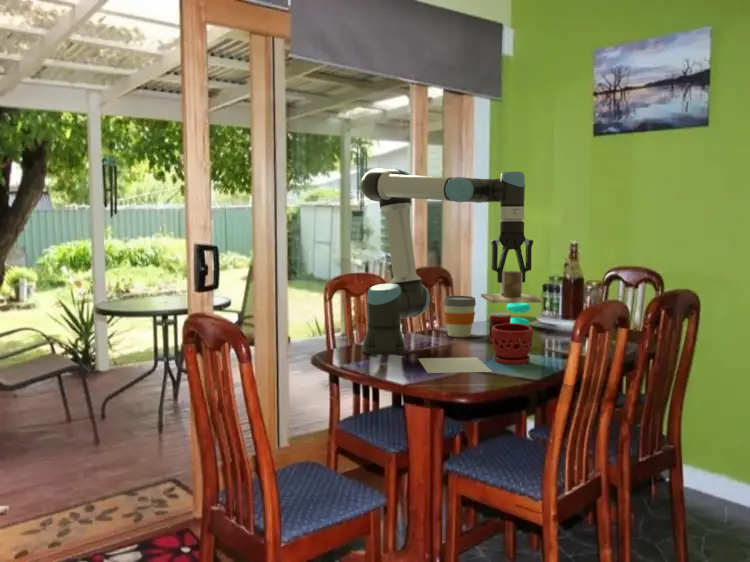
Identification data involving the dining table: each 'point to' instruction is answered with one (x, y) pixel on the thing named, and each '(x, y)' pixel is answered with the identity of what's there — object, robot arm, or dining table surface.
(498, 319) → the canned food
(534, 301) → the lid
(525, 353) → the plant pot
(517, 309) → the donuts
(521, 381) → the dining table surface
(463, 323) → the reusable coffee cup
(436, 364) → the mat
